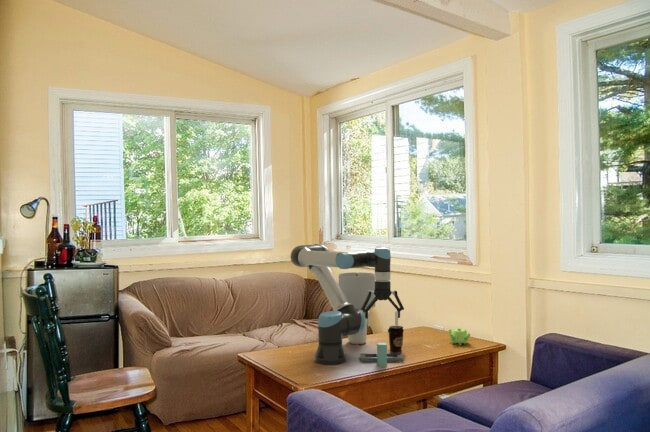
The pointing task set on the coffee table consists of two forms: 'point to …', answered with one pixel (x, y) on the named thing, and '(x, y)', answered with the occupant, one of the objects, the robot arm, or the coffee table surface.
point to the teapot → (459, 336)
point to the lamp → (357, 296)
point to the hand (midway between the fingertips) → (382, 325)
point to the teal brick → (382, 354)
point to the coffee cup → (395, 338)
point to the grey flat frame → (373, 357)
